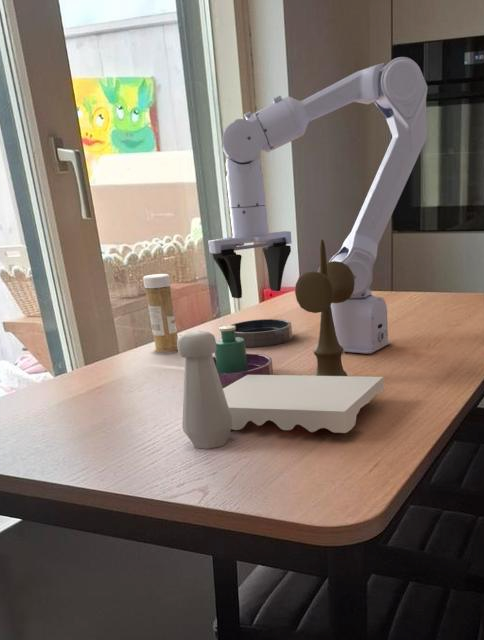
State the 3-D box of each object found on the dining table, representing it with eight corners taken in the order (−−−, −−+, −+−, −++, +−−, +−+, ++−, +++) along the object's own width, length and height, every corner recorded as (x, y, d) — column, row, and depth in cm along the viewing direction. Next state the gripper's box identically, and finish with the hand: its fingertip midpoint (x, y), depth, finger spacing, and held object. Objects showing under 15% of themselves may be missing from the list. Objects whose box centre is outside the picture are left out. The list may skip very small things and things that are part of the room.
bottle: (253, 375, 107) (247, 323, 104) (241, 384, 103) (235, 330, 100) (225, 375, 109) (219, 323, 105) (213, 384, 104) (206, 330, 101)
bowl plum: (288, 375, 108) (287, 356, 107) (242, 397, 99) (240, 377, 97) (226, 369, 114) (224, 350, 112) (177, 389, 104) (174, 370, 103)
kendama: (359, 373, 106) (353, 235, 98) (338, 392, 98) (330, 242, 90) (322, 372, 108) (314, 236, 100) (299, 390, 100) (288, 243, 92)
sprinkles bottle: (184, 350, 127) (173, 274, 122) (160, 355, 125) (148, 278, 120) (174, 346, 131) (163, 272, 125) (151, 351, 129) (138, 275, 123)
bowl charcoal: (304, 336, 132) (303, 320, 131) (268, 351, 123) (266, 334, 122) (252, 333, 138) (251, 317, 137) (214, 347, 129) (212, 330, 127)
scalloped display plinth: (196, 431, 87) (346, 439, 80) (192, 406, 86) (344, 411, 79) (250, 397, 100) (384, 401, 93) (247, 374, 99) (383, 376, 92)
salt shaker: (188, 436, 85) (172, 329, 80) (235, 432, 86) (222, 325, 80) (183, 453, 80) (165, 340, 75) (233, 449, 80) (219, 336, 75)
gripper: (220, 210, 104) (231, 303, 109) (299, 202, 112) (305, 289, 117) (197, 210, 109) (209, 298, 115) (275, 202, 117) (282, 286, 122)
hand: (256, 294), depth 116 cm, fingers open, 7 cm apart
